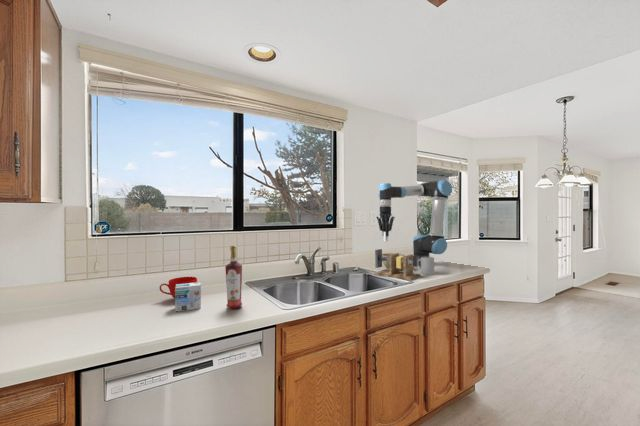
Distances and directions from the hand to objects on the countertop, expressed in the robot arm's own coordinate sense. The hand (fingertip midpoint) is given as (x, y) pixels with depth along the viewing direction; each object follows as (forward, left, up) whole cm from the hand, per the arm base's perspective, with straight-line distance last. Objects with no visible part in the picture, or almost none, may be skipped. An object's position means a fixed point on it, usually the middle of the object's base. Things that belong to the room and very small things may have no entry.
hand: (385, 241), depth 200 cm
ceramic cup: (+117, -47, -22) cm, 128 cm away
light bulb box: (+119, -31, -22) cm, 125 cm away
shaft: (0, +6, -18) cm, 19 cm away
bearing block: (0, +8, -22) cm, 23 cm away
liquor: (+105, -15, -22) cm, 108 cm away
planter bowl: (-16, -4, -22) cm, 28 cm away
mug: (-18, +19, -22) cm, 35 cm away
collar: (0, +11, -16) cm, 20 cm away
